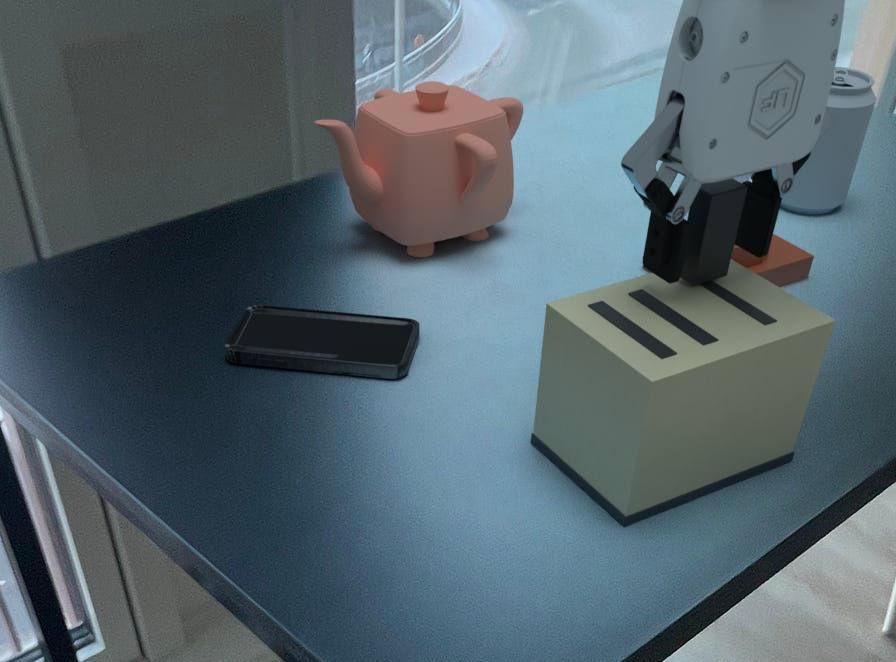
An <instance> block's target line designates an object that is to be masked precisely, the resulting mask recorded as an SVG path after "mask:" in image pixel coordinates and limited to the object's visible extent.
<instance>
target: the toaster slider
mask: <svg viewBox="0 0 896 662" xmlns="http://www.w3.org/2000/svg"><path fill="white" fill-rule="evenodd" d="M747 188H748V186H746V185H744V184H742V183H740V182H738V181H736V180H734V179H728V180H723V181H719V182H714V183H703V184H702V186H701V187H700V189H699V191H698V193H697V195H696V197H695V199H694V201H693V202H692V204H691V206H690V208H689V210H688V212H687V213H688V214H687V219H686V220H687V221H689V222H690V223H691V224H690V225H691V229H690V234H689V239H688V244H687V249H686V254H685V259H684V264H683V269H682V273H681V277H680V278H682V279H683V280H685V281H686V282H688V283H689V284H691V285H693V286H694V285H698V284H701V283H704V282H708V281H711V280H715V279H718V278H721V277H725V276H727V273H728V269H729V265H730V261H731V256H732V252H733V248H734V244H735V239H736V235H737V231H738V227H739V222H740V218H741V214H742V210H743V205H744V201H745V197H746V193H747Z"/></svg>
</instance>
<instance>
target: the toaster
mask: <svg viewBox="0 0 896 662" xmlns="http://www.w3.org/2000/svg"><path fill="white" fill-rule="evenodd" d="M836 321H837V320H836V319H834V318H833V317H831V316H830V315H828V314H826V313H825V312H822V311H821V310H820V309H817V308H816V307H814V306H812V305H811V304H809V303H807V302H806V301H804V300H802V299H800V298H799V297H797V296H795V295H794V294H792V293H790V292H788V291H787V290H785V289H783V288H782V287H778V286H776V285H775V284H773V283H771V282H769V281H768V280H766V279H764V278H763V277H761V276H759V275H757V274H756V273H754V272H752V271H751V270H749V269H747V268H745V267H744V266H742V265H740V264H739V263H737V262H735V261H733V260H732V259H731V261H730V265H729V269H728V273H727V276H725V277H721V278H718V279H715V280H711V281H708V282H704V283H701V284H698V285H694V286H693V285H691V284H689V283H688V282H686V281H685V280H683V279H682V278H680V279H679V281H677V282H674V283H671V284H670V283H668V282H666V281H664V280H663V279H661V278H660V277H658V276H657V275H655V274H654V273H647V274H642V275H640V276H635V277H633V278H629V279H626V280H622V281H619V282H616V283H611V284H609V285H605V286H600V287H598V288H594V289H591V290H588V291H587V290H586V291H584V292H581V293H577V294H573V295H570V296H566V297H563V298H560V299H556V300H552V301H548V302H546V306H545V315H544V324H543V325H544V326H543V334H542V342H541V343H542V345H541V355H540V363H539V372H538V373H539V374H538V383H537V384H538V385H537V391H536V403H535V413H534V421H533V422H534V423H533V431H532V432H531V433H530V443H531V445H533V446H534V447H535V448H536V449H538V451H539V452H540V453H542V454H543V455H544V456H545V457H546V458H547V459H548V460H550V461H551V463H553V464H554V465H555V466H556V467H557V468H559V469H560V470H561V471H562V472H563V473H564V474H565V475H566V476H567V477H569V479H571V480H572V482H574V483H575V484H576V485H577V486H578V487H579V488H581V489H582V490H583V491H584V492H585V493H586V494H587V495H588V496H589V497H590V498H592V500H594V501H595V502H596V503H597V504H598V505H599V506H601V508H603V509H604V511H606V512H607V513H608V514H609V515H610V516H612V518H614V519H615V520H616V521H617V522H618V523H619V524H620V525H621V526H622V527H627V526H629V525H631V524H635V523H637V522H640V521H642V520H645V519H647V518H650V517H652V516H654V515H657V514H660V513H662V512H664V511H667V510H670V509H672V508H674V507H678V506H680V505H683V504H685V503H688V502H690V501H693V500H696V499H698V498H700V497H703V496H706V495H708V494H711V493H713V492H715V491H718V490H721V489H724V488H726V487H728V486H731V485H734V484H737V483H739V482H741V481H743V480H746V479H750V478H751V477H754V476H756V475H760V474H761V473H765V472H767V471H770V470H772V469H775V468H777V467H779V466H782V465H785V464H787V463H790V462H792V461H793V458H794V456H795V451H794V449H795V446H796V442H797V440H798V437H799V434H800V430H801V428H802V425H803V422H804V418H805V416H806V412H807V409H808V407H809V403H810V400H811V397H812V394H813V391H814V388H815V385H816V381H817V379H818V376H819V373H820V370H821V366H822V364H823V360H824V357H825V354H826V352H827V348H828V345H829V342H830V339H831V336H832V333H833V330H834V327H835V325H836Z"/></svg>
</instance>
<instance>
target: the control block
mask: <svg viewBox="0 0 896 662" xmlns="http://www.w3.org/2000/svg"><path fill="white" fill-rule="evenodd" d="M814 258H815V255H814V254H812V253H810V252H808V251H806V250H805V249H803V248H801V247H799V246H797V245H795V244H793V243H791V242H790V241H788V240H786V239H784V238H783V237H780V236H779V235H777V234H775V233H773V236H772V240H771V244H770V247H769V251H768V254H767V255H766V256H763V257H759V258H758V257H756V256H754V255H752V254H751V253H749V252H747V251H745V250H744V249H742V248H740V247H738V246H737V245H735V244H734V248H733V252H732V256H731V259H732V260H733V261H735V262H737V263H739V264H740V265H742V266H744V267H745V268H747V269H749V270H751V271H752V272H754V273H756V274H757V275H759V276H761V277H763V278H764V279H766V280H768V281H769V282H771V283H773V284H775V285H776V286H778V287H780V288H782V287H785V286H787V285H788V286H789V285H791V284H795V283H797V282H800V281H801V282H802V281H804V280H807V279H808V278H809V276H810V272H811V268H812V265H813V261H814ZM642 269H643V270H644V271H646V272H647V273H648V274H650V273H652V272H650V271H649V270H647V269H646V268H645V267H644V266H643V265H642Z"/></svg>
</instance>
